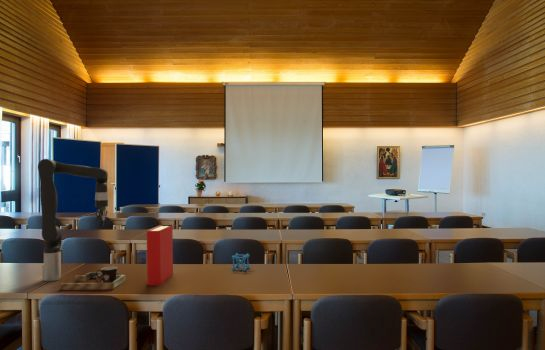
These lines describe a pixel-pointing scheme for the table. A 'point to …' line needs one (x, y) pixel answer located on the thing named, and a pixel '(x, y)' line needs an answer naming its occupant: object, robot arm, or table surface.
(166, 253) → the book
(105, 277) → the coffee mug
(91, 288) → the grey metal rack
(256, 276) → the table surface
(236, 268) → the molecular structure
